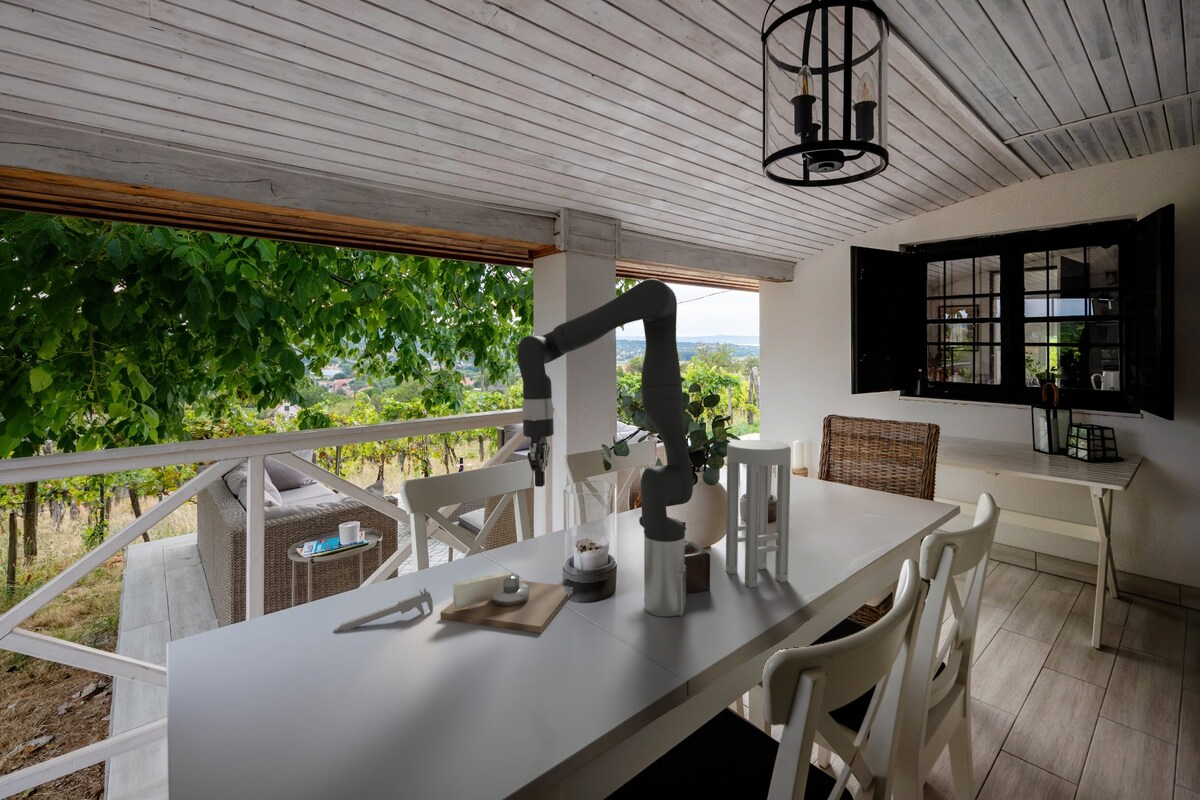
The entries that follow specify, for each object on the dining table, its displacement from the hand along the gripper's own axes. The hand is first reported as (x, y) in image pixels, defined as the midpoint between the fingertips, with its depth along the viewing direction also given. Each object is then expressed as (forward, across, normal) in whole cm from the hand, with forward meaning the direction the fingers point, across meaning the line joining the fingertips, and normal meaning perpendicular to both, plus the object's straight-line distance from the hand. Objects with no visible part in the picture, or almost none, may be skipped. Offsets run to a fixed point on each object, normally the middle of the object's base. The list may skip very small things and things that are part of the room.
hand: (540, 485), depth 142 cm
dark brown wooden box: (+26, -5, +32) cm, 42 cm away
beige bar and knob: (+24, +14, -8) cm, 29 cm away
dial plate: (+26, +11, -5) cm, 29 cm away
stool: (+26, -14, +54) cm, 62 cm away
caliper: (+26, +23, -30) cm, 46 cm away
